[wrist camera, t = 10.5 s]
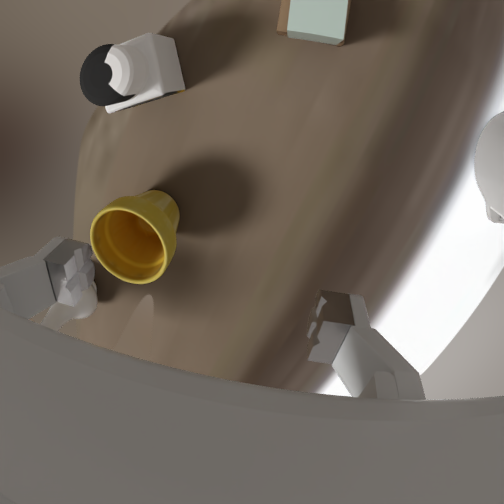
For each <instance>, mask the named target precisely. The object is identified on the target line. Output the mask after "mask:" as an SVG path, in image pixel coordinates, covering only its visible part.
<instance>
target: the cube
mask: <svg viewBox="0 0 504 504" xmlns="http://www.w3.org/2000/svg"><path fill="white" fill-rule="evenodd" d="M347 5H348V0H291V1H290V10H289V18H288V26H287V35H288V37H289V38H296V39H303V40H310V41H316V42H322V43H327V44H332V45H337V44H338V43H340V42H341V41H342V40H344V32H345V24H346V15H347Z"/></svg>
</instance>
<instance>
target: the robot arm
mask: <svg viewBox="0 0 504 504" xmlns="http://www.w3.org/2000/svg"><path fill="white" fill-rule="evenodd" d="M474 168H475V176H476V181H477V184H478V187H479V189H480V191H481V193H482V195H483V197H484V199H485V202H486V212H487V217H488V219H489V220H491V221H492V222H494V223H504V112H502V113H500V114H498V115H496V116H495V117H493V118H492V119H491V120H490V121H489V122H488V124H487V125H486V126H485V128H484V129H483V131H482V133H481V135H480V137H479V140H478V143H477V147H476V151H475V160H474ZM499 215H500V216H499ZM92 254H93V253H92V248H91V246H90V245H89V244H88V243H84V242H80V241H76V240H72V239H67V238H64V237H59V236H58V237H54V238H53V239H52V240H51V241H50V242H49V243H48V244H46V245H45V246H44V247H43V248H42V249H41V250H40V251H39V252H38V253H36V255H34V256H33V257H27V258H24V259H21V260H18V261H16V262H13V263H10V264H8V265H5V266H2V267H0V504H504V396H497V397H487V398H470V399H443V400H426V398H425V394H424V391H423V387H422V383H421V379H420V376H419V373H418V372H417V371H416V370H415V369H414V368H413V367H412V366H411V365H410V364H409V363H408V362H407V361H406V360H405V359H404V358H403V356H402V355H401V354H400V353H399V352H398V351H397V350H396V349H395V348H394V347H393V346H392V345H391V344H390V343H389V342H388V341H387V340H386V339H385V338H384V337H383V336H382V335H381V334H380V333H379V332H378V331H377V330H376V329H373V328H371V326H370V322H369V318H368V314H367V310H366V306H365V302H364V298H363V296H362V295H355V294H345V293H338V292H332V291H326V290H320V289H319V291H318V292H317V295H316V298H315V307H314V308H312V309H311V313H310V316H309V320H308V326H307V336H308V337H309V338H310V339H309V342H308V345H307V360H309V361H315V362H321V363H328V364H332V367H333V368H334V370H335V371H336V373H337V374H338V376H339V377H340V379H341V380H342V382H343V384H344V385H345V387H346V388H347V390H348V391H349V393H350V394H351V396H352V397H348V396H336V395H326V394H317V393H308V392H300V391H292V390H285V389H278V388H271V387H264V386H258V385H253V384H247V383H241V382H236V381H231V380H226V379H221V378H216V377H211V376H207V375H202V374H198V373H194V372H189V371H185V370H181V369H177V368H173V367H169V366H165V365H161V364H157V363H154V362H150V361H146V360H143V359H139V358H135V357H132V356H129V355H125V354H122V353H119V352H116V351H113V350H109V349H106V348H103V347H100V346H97V345H94V344H91V343H88V342H85V341H83V340H80V339H77V338H74V337H71V336H69V335H66V334H63V333H61V332H58V331H55V330H53V329H50V328H48V327H45V326H43V325H40V324H38V323H35V322H33V321H30V320H28V319H30V318H31V317H33V316H35V315H36V314H38V313H40V312H41V311H43V310H44V309H46V308H48V307H50V306H52V305H53V304H55V303H56V302H59V303H62V304H66V305H69V306H72V307H74V306H75V305H76V304H77V302H78V301H79V300H80V299H81V297H82V296H83V294H82V291H83V290H86V289H88V288H89V287H90V286H91V284H92V283H93V280H94V277H95V266H94V263H93V262H92V260H91V259H90V258H91V256H92Z"/></svg>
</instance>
